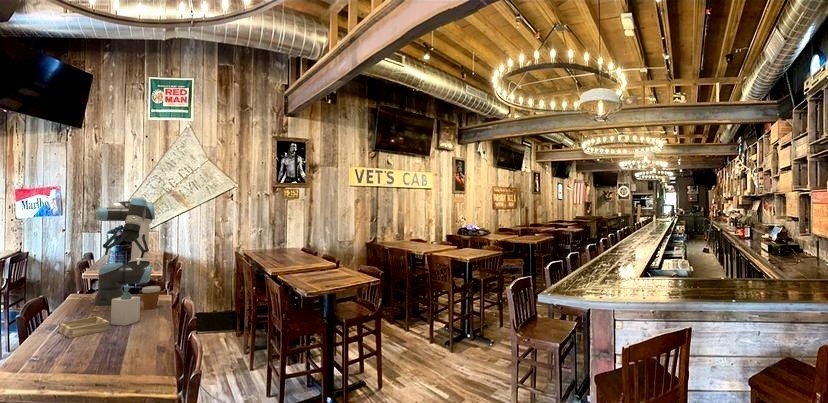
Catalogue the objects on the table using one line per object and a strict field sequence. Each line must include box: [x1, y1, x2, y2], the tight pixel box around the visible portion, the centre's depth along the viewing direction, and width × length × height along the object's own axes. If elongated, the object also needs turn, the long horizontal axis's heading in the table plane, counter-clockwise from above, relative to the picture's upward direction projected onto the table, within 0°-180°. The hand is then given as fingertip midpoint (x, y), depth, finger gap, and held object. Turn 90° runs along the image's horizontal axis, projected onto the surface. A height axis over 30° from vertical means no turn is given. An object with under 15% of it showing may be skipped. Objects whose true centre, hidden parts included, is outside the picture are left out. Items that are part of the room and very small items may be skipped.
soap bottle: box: [110, 284, 141, 327], centre depth 202 cm, size 9×9×19 cm
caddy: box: [57, 315, 110, 339], centre depth 188 cm, size 15×15×4 cm
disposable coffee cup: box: [141, 285, 161, 310], centre depth 231 cm, size 10×10×12 cm
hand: (122, 262), depth 206 cm, fingers open, 13 cm apart
